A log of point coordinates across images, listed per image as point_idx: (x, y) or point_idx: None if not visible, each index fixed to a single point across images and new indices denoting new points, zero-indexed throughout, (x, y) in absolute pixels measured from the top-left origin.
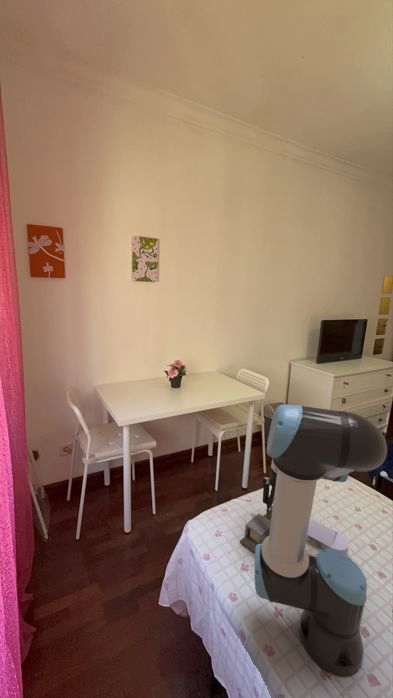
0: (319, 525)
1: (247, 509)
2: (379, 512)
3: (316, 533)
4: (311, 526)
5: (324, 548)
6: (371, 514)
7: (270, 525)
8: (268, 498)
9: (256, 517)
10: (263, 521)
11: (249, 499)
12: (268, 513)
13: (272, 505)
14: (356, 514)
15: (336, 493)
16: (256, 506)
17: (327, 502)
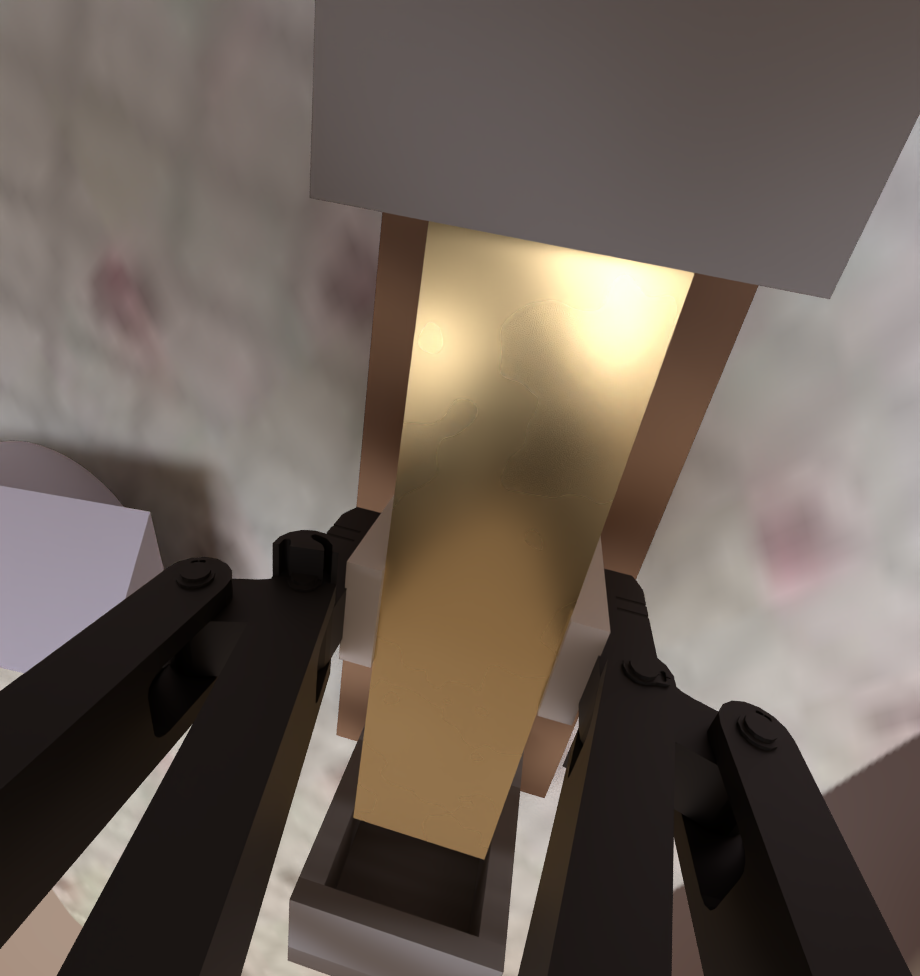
0: (19, 646)
1: (893, 593)
2: (66, 872)
3: (52, 554)
4: (98, 608)
5: (41, 470)
6: None
7: (337, 2)
8: (679, 837)
9: (882, 24)
10: (586, 16)
11: (891, 734)
12: (574, 505)
13: (568, 714)
14: (125, 834)
15: (275, 938)
16: (783, 674)
17: (280, 872)
